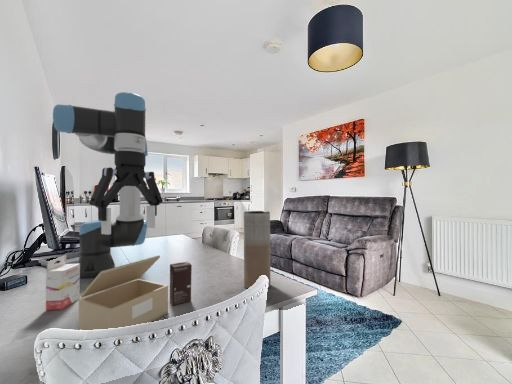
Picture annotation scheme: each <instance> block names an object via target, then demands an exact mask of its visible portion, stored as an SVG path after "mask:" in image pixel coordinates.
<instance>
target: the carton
mask: <svg viewBox="0 0 512 384" xmlns="http://www.w3.org/2000/svg"><path fill="white" fill-rule="evenodd" d="M167 314H169V285H167V284H164V283H158V282H155V281H150V280H146V279H141V278H137V279H135V280H132V281H129V282H126V283H123V284H120V285H117V286H114V287H111V288H108V289H106V290H103V291H100V292H97V293H94V294H91V295H88V296H85V297H82V298H81V297H80V298H79V299H78V330H79V329H82V330H93V329H108V328H118V327H125V326H131V325H136V324H141V323H147V322H151V323H153V322H155V321H156V320H158V319H160V318H162V317H164V316H166V315H167ZM152 321H153V322H152Z"/></svg>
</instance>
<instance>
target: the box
mask: <svg viewBox="0 0 512 384" xmlns="http://www.w3.org/2000/svg"><path fill="white" fill-rule="evenodd" d="M191 301H192V264H191V263H190V262H189V261H184V262H175V263H170V264H169V303H171V305H172V306H176V305H179V304H183V303H189V302H191Z"/></svg>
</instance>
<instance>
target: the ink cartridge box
mask: <svg viewBox="0 0 512 384" xmlns="http://www.w3.org/2000/svg"><path fill="white" fill-rule="evenodd" d="M66 262H67V259H66V255H65V256H62V257H58V258H56V259H53V260H50V261H48V264H47V266H46V272H45V273H46V274H45V276H46V278H45V279H46V280H45V281H46V282H45V310H46V311H54V310H55V311H56V310H57V311H58V310H61V311H62V310H63V309H65V308H66V307H69V306H70V305H72V303H74V302H76V301H79V299H80V288H81V287H80V286H81V282H80V280H81V278H80V264H66ZM54 263H57V264H54Z"/></svg>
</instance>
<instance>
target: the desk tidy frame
mask: <svg viewBox="0 0 512 384" xmlns="http://www.w3.org/2000/svg"><path fill="white" fill-rule="evenodd" d="M65 255H66V260H68V259H72V258H77V257H79V256H80V252H79V251H75V252H70V253H64V254H60V255H55V256H49V257H43V258H39V259H38V262H39V263H41V265H40V266H42V267H43V266H44V267H47V264H48V261H46V260H47V259H50V258H56V257H57V258H58V257H62V256H65ZM78 260H79V259H76V260H70V261H66V264H77V263H78ZM57 263H58V262H55V263H54V264H57Z"/></svg>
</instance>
